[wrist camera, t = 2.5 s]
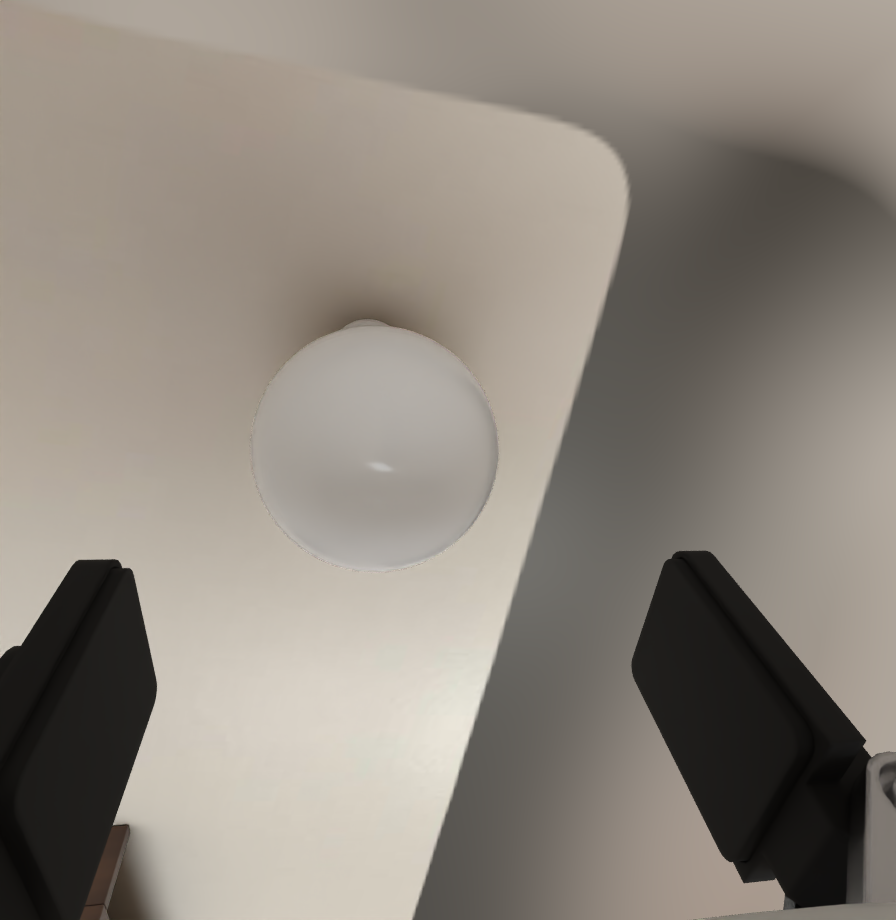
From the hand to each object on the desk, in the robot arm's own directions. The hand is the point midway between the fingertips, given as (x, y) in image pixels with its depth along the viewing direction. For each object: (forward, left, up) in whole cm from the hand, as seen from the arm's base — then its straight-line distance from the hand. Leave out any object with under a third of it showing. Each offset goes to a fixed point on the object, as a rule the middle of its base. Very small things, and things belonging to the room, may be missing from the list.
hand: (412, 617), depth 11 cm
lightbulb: (0, 0, -14) cm, 14 cm away
